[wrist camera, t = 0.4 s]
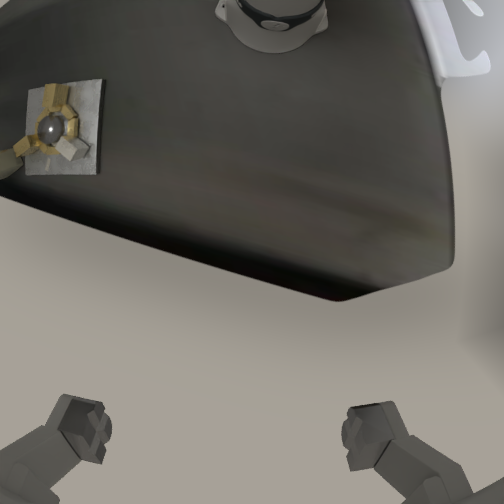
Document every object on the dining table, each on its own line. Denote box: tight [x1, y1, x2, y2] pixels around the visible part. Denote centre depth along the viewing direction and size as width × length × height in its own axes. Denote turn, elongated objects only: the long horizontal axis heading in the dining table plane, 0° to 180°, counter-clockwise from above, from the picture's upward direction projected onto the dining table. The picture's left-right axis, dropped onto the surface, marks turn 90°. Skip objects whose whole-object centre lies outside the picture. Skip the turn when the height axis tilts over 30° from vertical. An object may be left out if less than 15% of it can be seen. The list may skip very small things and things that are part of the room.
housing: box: [25, 79, 106, 175], centre depth 44 cm, size 17×17×5 cm
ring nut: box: [13, 84, 89, 161], centre depth 42 cm, size 14×15×4 cm
